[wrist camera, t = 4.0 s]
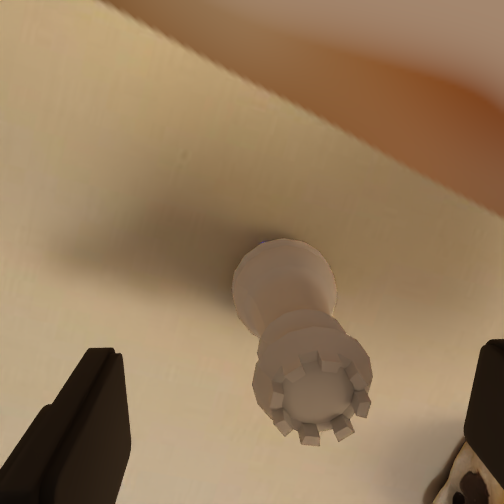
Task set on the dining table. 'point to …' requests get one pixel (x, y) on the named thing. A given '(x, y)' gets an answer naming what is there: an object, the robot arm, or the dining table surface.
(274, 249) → the rook chess piece
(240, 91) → the dining table surface
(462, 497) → the pastry
